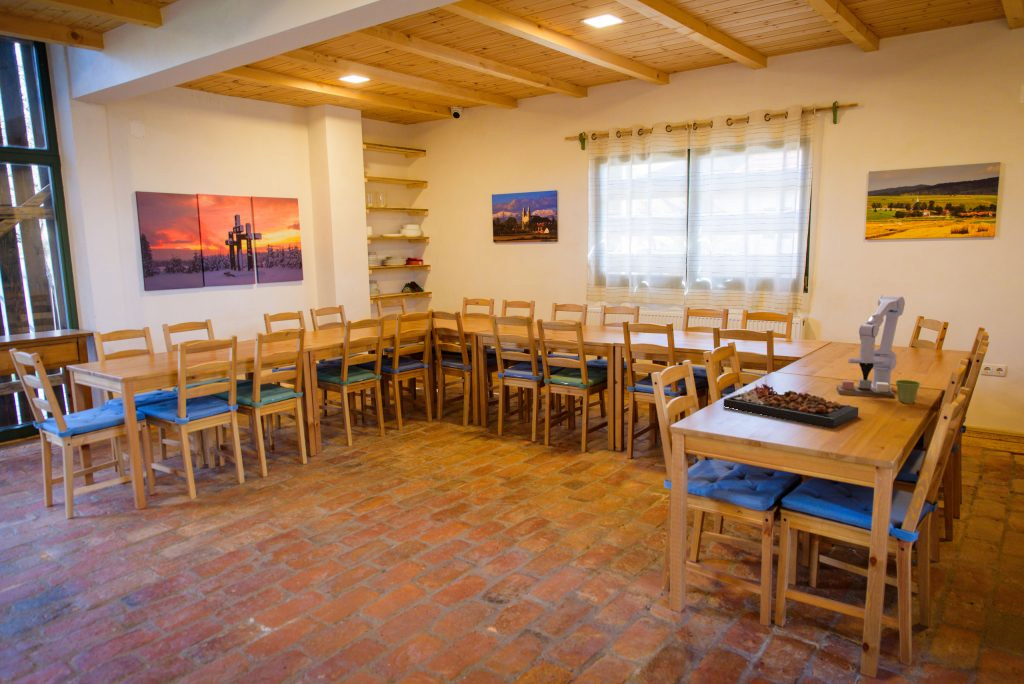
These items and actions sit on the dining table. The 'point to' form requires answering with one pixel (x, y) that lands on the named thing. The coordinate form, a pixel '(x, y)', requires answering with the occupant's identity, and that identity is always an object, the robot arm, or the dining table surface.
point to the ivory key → (882, 386)
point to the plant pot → (907, 390)
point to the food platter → (793, 407)
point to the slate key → (864, 383)
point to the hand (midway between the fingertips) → (865, 379)
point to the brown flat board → (865, 392)
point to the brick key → (848, 384)
